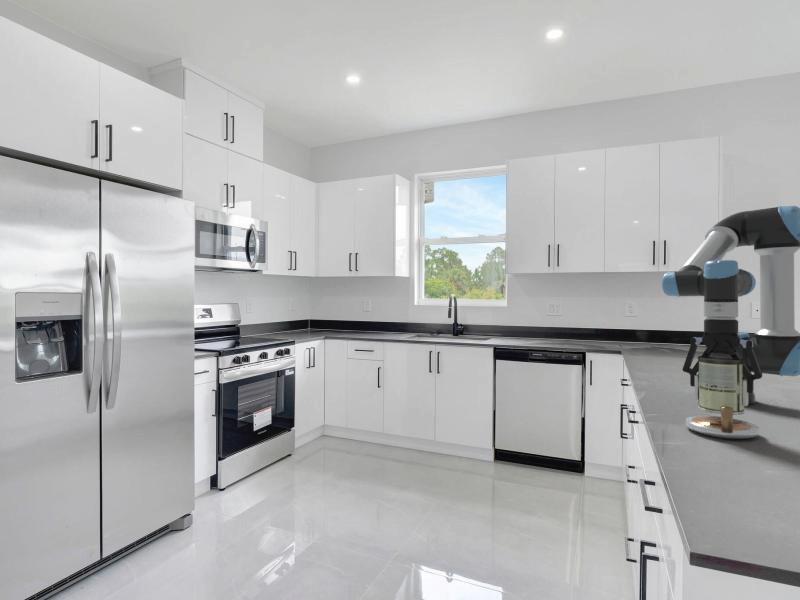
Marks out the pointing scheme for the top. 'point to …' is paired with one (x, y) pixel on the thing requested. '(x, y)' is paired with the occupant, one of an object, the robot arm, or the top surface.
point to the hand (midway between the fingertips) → (720, 401)
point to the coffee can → (720, 384)
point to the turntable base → (724, 437)
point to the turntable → (723, 425)
